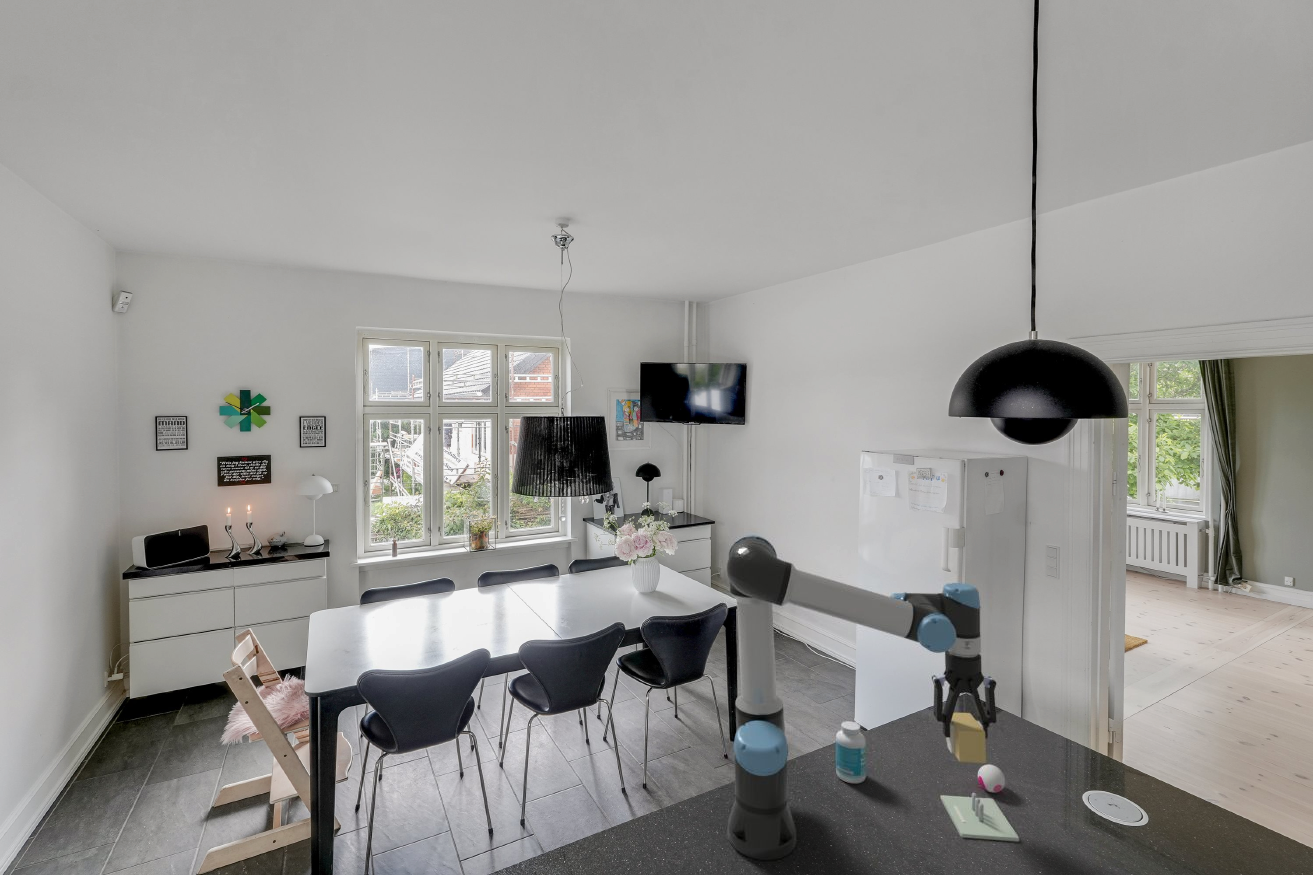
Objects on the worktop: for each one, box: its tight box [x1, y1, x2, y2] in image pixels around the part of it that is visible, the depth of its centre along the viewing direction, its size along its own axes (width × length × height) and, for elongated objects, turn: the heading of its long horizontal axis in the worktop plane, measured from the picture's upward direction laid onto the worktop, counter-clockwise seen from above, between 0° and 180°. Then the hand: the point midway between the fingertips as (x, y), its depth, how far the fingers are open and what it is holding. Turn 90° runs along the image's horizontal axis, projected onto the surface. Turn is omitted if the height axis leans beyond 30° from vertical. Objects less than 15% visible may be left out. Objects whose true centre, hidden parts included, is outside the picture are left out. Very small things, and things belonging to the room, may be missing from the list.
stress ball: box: [976, 764, 1006, 794], centre depth 151 cm, size 8×8×7 cm
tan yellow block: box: [945, 712, 987, 764], centre depth 140 cm, size 6×9×7 cm, turn 172°
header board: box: [940, 792, 1020, 842], centre depth 140 cm, size 12×14×5 cm
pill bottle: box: [835, 720, 867, 784], centre depth 157 cm, size 8×7×14 cm
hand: (965, 750), depth 140 cm, fingers closed on tan yellow block, 6 cm apart
